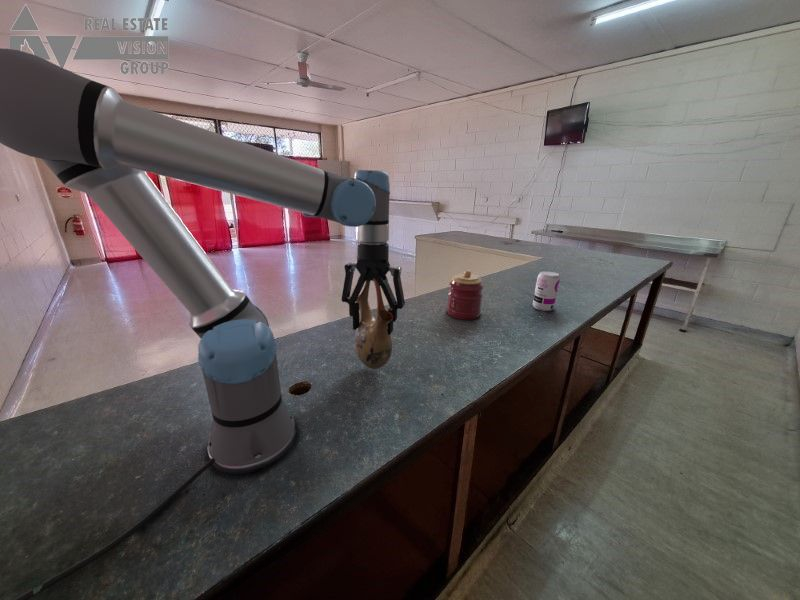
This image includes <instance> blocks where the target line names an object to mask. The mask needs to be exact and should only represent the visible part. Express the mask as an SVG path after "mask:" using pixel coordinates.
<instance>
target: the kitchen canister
mask: <svg viewBox="0 0 800 600" xmlns="http://www.w3.org/2000/svg"><path fill="white" fill-rule="evenodd" d="M482 282H483V279H482V278H481V277H479V276H478V275H477V274H473V273H472V272H471V270H469V269H466V270H464V272H463V273H457V274H455V275H453V276H452V277H451V281H450V282H449V283H448V286H449V290H448V295H447V297H448V298H447V305H446V312H447V314H448V316H450V317H452V318H455V319H459V320H465V321H467V320H474V319H475V320H476V319H477V318H478V317H480V314H481V311H482V309H481V307H482V300H483V299H482V298H483V293H482V290H483V289H484V285H483V284H482Z"/></svg>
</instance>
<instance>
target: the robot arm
mask: <svg viewBox="0 0 800 600" xmlns="http://www.w3.org/2000/svg"><path fill="white" fill-rule="evenodd" d="M0 144H1V145H3V146H5V147H7V148H9V149H11V150H13V151H15V152H17V153H20V154H23V155H25V156H28V157H32V158H38V159H41V160H42V162H43V163H44V164H45V165H46V166H47V167H48V168H49V169H50V170H51V172H52V173H53V174H54V175H55V176H56V177H57V179H58V180H59V181H60V182H61V183H62V184H63V185H64V186H65V187H66V188H68V189H71V190H74V191H78V192H81V193H83V194H85V195H88V196H89V197H90V199H91V201H93V202H94V204H95V205H96V206H97V207H98V208H99V209H100V210H101V212H102V213H103V214H104V215H105V216H106V218H107V219H108V220H109V221H110V222H111V223H112V224H113V226H114V227H115V228H116V229H117V231H119V233H120V234H121V235H122V236H123V238H125V240H126V241H127V242H128V243H129V244H130V245H131V246H132V248H133V249H134V250H135V251H136V252H137V253H138V254H139V256H140V257H141V258H142V259H143V261H144V262H145V263H146V264H147V265H148V266H149V267H150V268H151V270H152V271H153V272H154V273H155V274H156V276H157V277H158V278H159V279H160V281H162V282H163V284H164V285H165V286H166V287H167V288H168V290H170V292H171V293H172V294H173V295H174V296H175V297H176V299H177V300H178V301H179V302H180V303H181V304H182V305H183V307H184V308H185V309H186V310H187V311H188V313H189V315H190V317H189V320H188V327H190V329H192V331H194V333H195V334H196V335H197V336H198V338H200V340H199V343H198V348H197V350H198V354H197V361H198V365H199V366H200V370H201V371H202V376H203V380H204V384H205V389H206V394H207V398H208V403H209V407H210V410H211V415H212V423H211V427H210V428H211V429H210V436H209V438H208V442H207V453H208V458H209V460H208V461H207V462H206V463H204V464H203V465H202V466H201V467H199V469H197V471H196V472H194V473H193V474H192V475H190V477H188V479H187V480H185V481H184V482H183V483H182V484H181V485H180V486H178V487H177V488H176V489H175V490H174V491H173V492H171V493H170V494H169V495H168V496H167V497H166V498H165V499H164V500H162V501H161V502H160V503H159V504H158V505H156V506H155V507H154V508H153V509H151V511H150V512H148V514H146V515H145V516H144V517H143V518H141V519H140V520H139V521H137V523H135V524H134V525H133V526H131V527H130V528H129V529H127V530H126V531H125V532H123V533H122V534H120V535H119V536H118V537H116V538H115V539H113V540H112V541H111V542H109V543H107V544H106V545H104V546H102V547H101V548H100V549H98V550H97V551H95V552H93V553H92V554H90V555H89V556H86V557H85V558H84V559H82V560H80V561H78V562H77V563H75V564H73V565H71V566H70V567H67V568H66V569H64V570H62V571H61V572H59V573H57V574H55V575H53V576H52V577H50V578H49V579H46V580H44V581H43V582H42V583H43V586H42V589H40V590H41V592H43V591H44V590H46V589H47V588H49V587H51V586H52V585H54V584H56V583H58V582H59V581H61V580H64V579H65V578H66V577H68V576H70V575H72V574H73V573H76V572H77V571H79V570H80V569H82V568H83V567H86V566H87V565H89V564H91V563H92V562H94V561H95V560H97V559H98V558H101V557H102V556H103V555H105V554H106V553H107V552H109V551H111V550H112V549H114V548H115V547H117V546H118V545H120V543H122V542H123V541H125V540H127V538H129V537H130V536H131V535H133V534H135V532H137V531H138V530H139V529H141V528H142V527H143V526H144V525H145V524H147V523H148V522H149V521H150V520H151V519H152V518H154V516H156V515H157V514H158V513H159V512H160V511H162V509H164V508H165V507H166V506H167V505H168V504H169V503H170V502H172V500H174V499H175V498H176V497H178V495H180V494H181V492H183V491H184V490H185V489H186V488H188V486H189V485H191V484H192V483H193V482H194V481H195V480H196V479H197V478H198V477H200V475H201V474H203V473H204V472H205V471H206V470H207V469H209V468H210V467H211V466H212V467H213V468H215V469H216V470H217V471H219V472H221V473H224V474H228V475H245V474H252V473H255V472H258V471H261V470H263V469H266V468H268V467H269V466H271V465H273V464H275V463H276V462H278V461H279V460H280V459H281V458H283V457H284V456H285V455H286V454H287V453H288V451H289V450H290V449H291V448H292V446H293V445H294V442H295V439H296V435H297V433H296V432H297V429H296V421H295V419H294V417H293V416H292V414H291V413H290V411H289V410H288V408H287V406H286V404H285V402H284V401H283V397H282V389H281V382H280V381H281V380H280V374H279V373H280V372H279V366H278V365H279V364H278V358H277V357H278V356H277V349H278V348H277V342H276V339H275V337H274V333H273V331H272V329H271V327H270V324H269V320H268V317H266V315H265V313H264V312H263V311H262V310H261V309H260V308H259V307H258V306H257V305H256V304H254V303H253V302H252V301H251V299H250V298H249V297H248V295H247V293H245V292H244V291H243V290H238V289H233V288H232V287H231V285H230V283H228V281H227V280H226V278H225V277H224V276H223V275H222V274H221V272H220V271H219V269H218V268H217V266H216V265H215V263H214V262H212V260H211V258H210V257H209V255H207V253H206V252H205V250H204V249H203V247H202V246H201V245H200V243H199V242H198V241H197V239H196V238H195V237H194V236H193V234H192V233H191V231H190V230H189V228H187V226H186V225H185V223H184V222H183V221H182V219H181V218H180V216H179V215H178V214H177V213H176V212H175V210H174V208H173V207H172V205H171V204H170V203H169V202H168V201H167V199H166V198H165V197H164V195H163V194H162V192H161V191H160V190H159V188H158V187H157V185H156V184H155V183H154V181H153V180H152V178H150V176H149V175H148V173H151V174H154V175H158V176H162V177H166V178H170V179H174V180H177V181H181V182H185V183H188V184H193V185H197V186H200V187H204V188H207V189H211V190H215V191H219V192H223V193H227V194H230V195H234V196H237V197H241V198H244V199H245V198H246V199H249V200H253V201H257V202H260V203H265V204H269V205H272V206H276V207H278V208H279V207H280V208H283V209H287V210H291V211H294V212H299V213H301V215H302V216H303V217H306V218H315V219H318V218H320V219H323V220H328V221H331V222H335V223H339V224H340V225H342V226H346V227H352V228H355V237H356V238H355V240H356V241H357V243H356V262H355V263H354V262H348V263H346V264H344V273H345V275H344V281H343V288H342V294H341V298H340V299H341V302H342V303H347V304H348V314H349V316H350V317H352V330H354V331H356V330H357V328H358V326H359V323H360V310H359V303H357V302H356V301H357V298H358V296H359V295H360V294H361V292H362V290H363V288H364V286H365V283H366V281H370V282H374V281H373V278H376V279H377V281H378V283H379V285H380V289H381V291H382V293H383V294H384V295H383V296H384V297H385V299H386V301H387V304H388V306H389V307H388V309H387V311H388V312H390V313H392V315H393V319H392V321H390V322H389V324H388V325H387V331H388V334H389V335H391V334H393V333H392V332H393V331H394V323H395V322H396V321H397V319H398V310H403V308H404V307H405V305H406V301H405V294H404V290H403V283H402V278H401V276H402V275H401V274H402V267H401V266H397V267H395V266H392V265H391V264H390V260H389V256H390V255H389V254H390V253H389V252H390V249H389V248H390V245H389V243H388V241H390V195H391V188H390V187H391V186H390V176H389V173H388V172H386V171H384V170H378V169H377V170H374V169H372V170H371V169H369V170H368V169H358V170H355V172H354V177H350V178H347V177H344V176H342V175H338V174H335V173H333V172H329V171H326V170H323V169H321V168H318V167H315V166H313V165H310V164H307V163H304V162H301V161H299V160H296V159H292V158H291V157H290V158H289V157H287V156H284V155H281V154H277V153H275V152H272V151H270V150H266V149H263V148H261V147H257V146H254V145H252V144H249V143H246V142H243V141H241V140H237V139H234V138H232V137H229V136H227V135H223V134H220V133H217V132H214V131H211V130H209V129H206V128H203V127H201V126H197V125H194V124H191V123H189V122H186V121H182V120H180V119H177V118H173V117H172V116H168V115H165V114H162V113H160V112H157V111H154V110H151V109H148V108H145V107H142V106H140V105H136V104H133V103H130V102H128V101H126V100H124V99H123V98H122V97H121V95H120V94H119V93H118V91H117V89H115V88H114V87H112V86H109V85H106V84H103V83H100V82H99V81H98V82H97V81H95V80H92V79H89V78H86V77H84V76H82V75H79V74H77V73H75V72H72V71H70V70H68V69H65V68H63V67H61V66H59V65H57V64H55V63H53V62H51V61H49V60H47V59H46V58H43V57H40V56H38V55H36V54H33V53H29V52H26V51H22V50H19V49H12V48H1V47H0ZM356 270H357V271H358V274H359V277H358V279H357V282H356V285H355V287H354V288H353V291H352V286H353V280H354V274H355V271H356ZM388 272H390V276H391V277H392V283H393V288H394V292H395V293H393V290H392V288H391V285H390V283H389V279H388V277H387V274H388ZM351 291H352V292H351ZM33 597H34V596H33V588H31V589H29V590H27V591H26V592H24V593H23V594H20V595H19V596H17V597H16V598H14V599H13V600H29V599H31V598H33Z"/></svg>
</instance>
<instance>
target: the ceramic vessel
mask: <svg viewBox="0 0 800 600" xmlns="http://www.w3.org/2000/svg"><path fill="white" fill-rule="evenodd" d="M372 282H373V284H374V287H375V293H376V304H377V305H376V318H375V316H374V314H373V312H372V310H371V307H370V303H369V293H370V285H371V281H365V283H364V285H363V287H362V290H361V292H360V294H359V296H358V298H357V301H356V302H357V303H359V326H358V328H357V329H356V330H355V335H354V348H355V352H356V355H357V357H358V358H359V360H360V361H361V363H362V364H363V365H364V366H365V367H367V368H368V369H372V370H378V369H381V368H383V367H384V366H385V365H387V363H388V362H389V361H390V358H391V355H392V352H393V339H392V335H391V334H390V335H389V334H388V331H387V325H388V324H389V322H390V321H392V319H393V315H392V313H390V312H388V310H386V307H385V304H384V299H383V295H382V288H381V286H380V285H379V283H378V281H377V279H376V278H373V281H372Z"/></svg>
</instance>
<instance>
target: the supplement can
mask: <svg viewBox="0 0 800 600" xmlns="http://www.w3.org/2000/svg"><path fill="white" fill-rule="evenodd" d="M560 280H561V277H560V274H559V273H558V272H555V271H550V270H549V271H548V270H542V271H540V272H539V274H538V275H537V279H536V284H535V290H534V295H533V301H532V306H533V308H534V309H536V310H539V311H544V312H551V311H552V310H554V308H555V305H556V299H557V293H558V291H559V284H560Z"/></svg>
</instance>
